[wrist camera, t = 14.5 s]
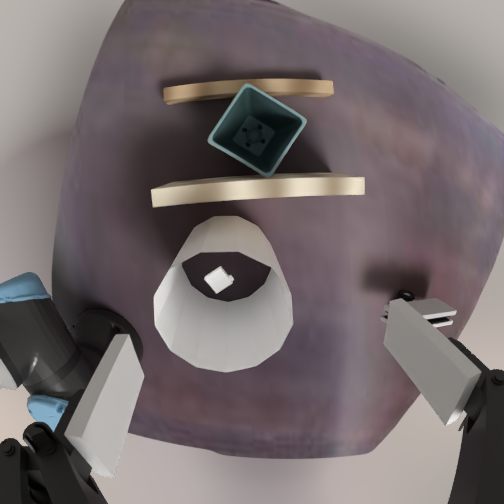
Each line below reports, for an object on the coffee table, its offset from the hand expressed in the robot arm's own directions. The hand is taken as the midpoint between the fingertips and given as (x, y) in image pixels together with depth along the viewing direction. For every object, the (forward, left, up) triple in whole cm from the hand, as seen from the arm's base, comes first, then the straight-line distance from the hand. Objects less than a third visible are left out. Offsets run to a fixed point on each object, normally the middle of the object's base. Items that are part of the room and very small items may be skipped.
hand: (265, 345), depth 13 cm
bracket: (+37, -18, -28) cm, 50 cm away
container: (-3, -7, -32) cm, 33 cm away
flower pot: (+2, +12, -32) cm, 34 cm away
